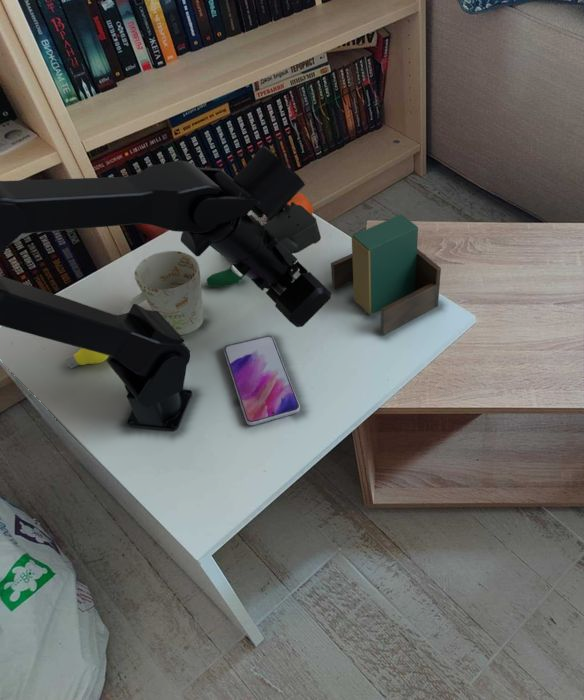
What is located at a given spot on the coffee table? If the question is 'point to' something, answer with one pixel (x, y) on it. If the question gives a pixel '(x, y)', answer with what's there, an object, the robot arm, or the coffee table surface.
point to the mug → (171, 289)
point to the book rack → (408, 305)
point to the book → (384, 263)
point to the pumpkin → (301, 202)
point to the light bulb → (85, 358)
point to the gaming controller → (225, 278)
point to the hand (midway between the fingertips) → (303, 295)
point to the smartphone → (261, 380)
